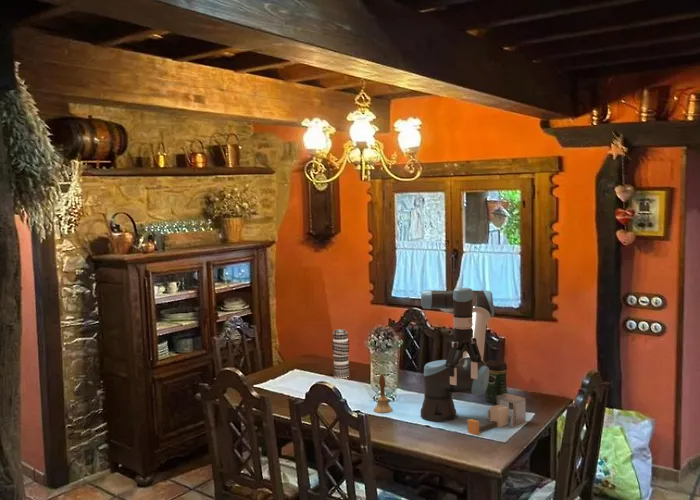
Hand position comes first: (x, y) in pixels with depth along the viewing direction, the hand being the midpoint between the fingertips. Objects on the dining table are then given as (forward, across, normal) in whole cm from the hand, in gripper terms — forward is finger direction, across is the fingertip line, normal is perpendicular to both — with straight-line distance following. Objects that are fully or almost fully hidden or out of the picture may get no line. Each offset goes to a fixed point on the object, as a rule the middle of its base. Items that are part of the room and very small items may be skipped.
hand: (463, 381), depth 262 cm
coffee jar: (+19, +42, +14) cm, 49 cm away
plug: (+20, +10, -4) cm, 23 cm away
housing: (+20, +22, -5) cm, 30 cm away
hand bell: (+20, -1, +43) cm, 48 cm away
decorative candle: (+18, +26, +99) cm, 104 cm away
